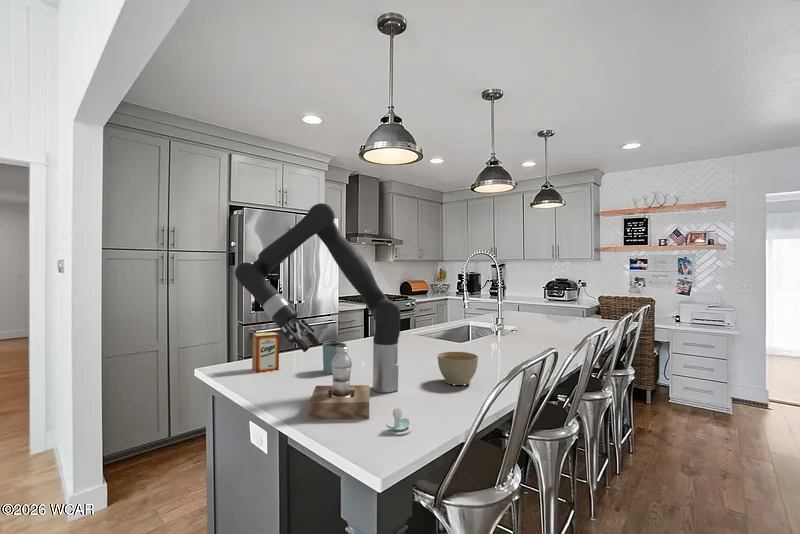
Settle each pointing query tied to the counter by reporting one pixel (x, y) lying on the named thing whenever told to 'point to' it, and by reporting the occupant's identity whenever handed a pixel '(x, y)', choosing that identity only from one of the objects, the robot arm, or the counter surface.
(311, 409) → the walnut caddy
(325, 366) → the drinking glass
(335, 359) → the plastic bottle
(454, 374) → the planter bowl
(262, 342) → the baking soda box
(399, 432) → the pacifier
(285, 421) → the counter surface
